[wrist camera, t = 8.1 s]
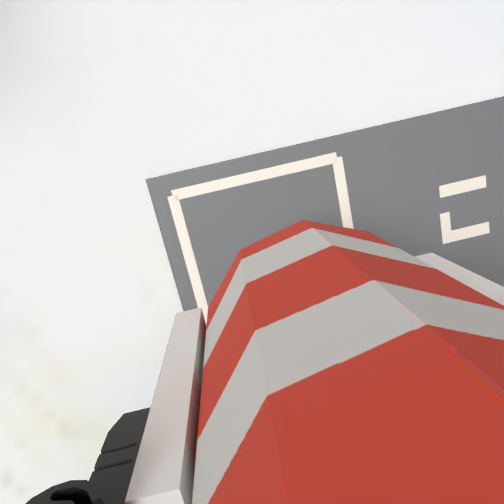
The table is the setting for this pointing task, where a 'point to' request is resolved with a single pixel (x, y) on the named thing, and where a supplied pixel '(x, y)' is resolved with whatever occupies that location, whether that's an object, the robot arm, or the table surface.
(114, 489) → the robot arm
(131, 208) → the table surface
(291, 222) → the charcoal board
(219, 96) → the table surface
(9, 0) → the table surface
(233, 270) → the beverage can
